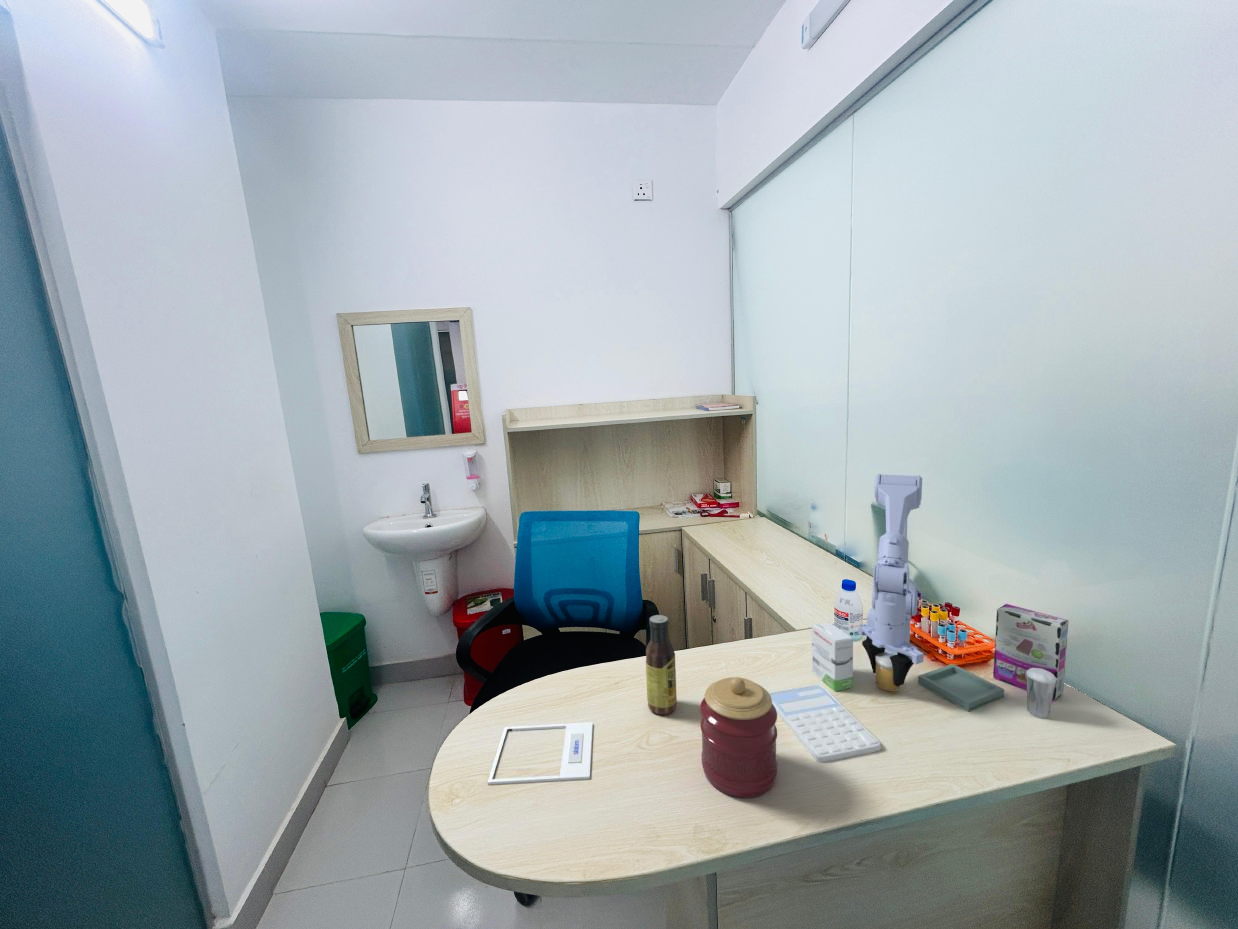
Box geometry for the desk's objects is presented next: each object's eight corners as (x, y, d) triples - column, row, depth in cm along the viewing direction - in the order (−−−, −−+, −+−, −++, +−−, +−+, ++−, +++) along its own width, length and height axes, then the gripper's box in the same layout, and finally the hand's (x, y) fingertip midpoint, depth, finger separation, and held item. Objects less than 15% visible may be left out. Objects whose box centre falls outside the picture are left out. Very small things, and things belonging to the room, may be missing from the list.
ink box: (853, 688, 111) (854, 638, 109) (834, 692, 110) (835, 641, 108) (828, 667, 119) (829, 620, 118) (810, 671, 118) (810, 624, 117)
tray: (918, 683, 112) (918, 675, 111) (952, 670, 116) (952, 663, 115) (968, 711, 102) (968, 703, 101) (1003, 697, 106) (1004, 689, 105)
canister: (702, 797, 84) (699, 700, 81) (700, 743, 96) (698, 657, 94) (783, 803, 82) (783, 703, 79) (771, 746, 95) (770, 659, 92)
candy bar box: (1063, 693, 106) (1070, 619, 103) (1055, 702, 103) (1061, 627, 101) (1001, 670, 115) (1005, 602, 113) (991, 677, 112) (996, 608, 110)
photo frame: (589, 775, 89) (487, 781, 89) (589, 781, 89) (487, 787, 89) (592, 721, 103) (504, 726, 103) (592, 726, 103) (505, 731, 103)
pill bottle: (869, 681, 112) (870, 656, 111) (886, 675, 113) (886, 650, 113) (889, 693, 107) (890, 667, 106) (906, 687, 109) (907, 661, 108)
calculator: (817, 766, 90) (817, 756, 90) (764, 699, 109) (764, 691, 109) (883, 752, 92) (884, 743, 92) (820, 690, 112) (820, 682, 112)
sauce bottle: (675, 717, 104) (672, 627, 101) (645, 715, 105) (641, 626, 102) (678, 698, 110) (675, 613, 107) (650, 696, 112) (646, 611, 109)
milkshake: (1059, 725, 96) (1063, 677, 95) (1023, 715, 100) (1027, 668, 98) (1057, 713, 100) (1062, 666, 98) (1023, 703, 103) (1026, 658, 102)
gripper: (848, 610, 113) (847, 666, 115) (906, 639, 100) (904, 701, 102) (872, 603, 116) (870, 658, 118) (931, 630, 102) (928, 692, 104)
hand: (887, 678), depth 110 cm, fingers closed on pill bottle, 5 cm apart
